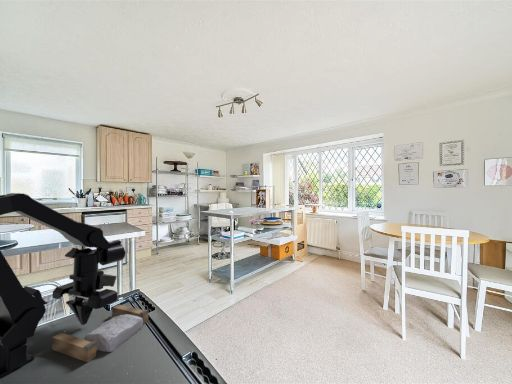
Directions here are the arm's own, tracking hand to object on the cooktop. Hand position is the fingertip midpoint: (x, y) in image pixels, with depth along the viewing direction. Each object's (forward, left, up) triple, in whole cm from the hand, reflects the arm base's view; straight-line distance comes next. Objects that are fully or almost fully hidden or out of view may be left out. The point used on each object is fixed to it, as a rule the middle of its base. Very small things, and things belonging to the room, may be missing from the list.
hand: (84, 324), depth 64 cm
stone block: (+11, 0, -2) cm, 12 cm away
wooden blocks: (+8, 0, -1) cm, 8 cm away
